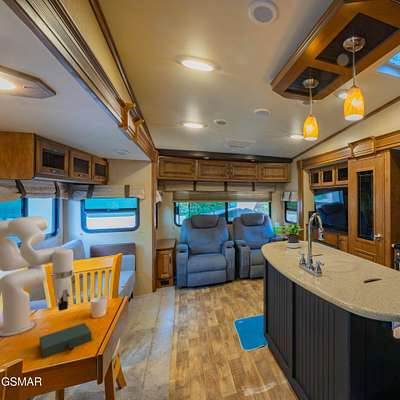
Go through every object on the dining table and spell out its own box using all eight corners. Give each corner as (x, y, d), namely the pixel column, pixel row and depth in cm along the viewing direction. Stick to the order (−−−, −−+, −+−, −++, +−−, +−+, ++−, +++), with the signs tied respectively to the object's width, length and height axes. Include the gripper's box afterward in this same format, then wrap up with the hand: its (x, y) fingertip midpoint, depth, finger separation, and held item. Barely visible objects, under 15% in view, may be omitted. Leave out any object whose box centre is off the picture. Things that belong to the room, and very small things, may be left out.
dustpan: (39, 337, 119) (45, 353, 108) (84, 322, 133) (94, 335, 122) (39, 346, 120) (45, 363, 108) (84, 330, 133) (94, 344, 122)
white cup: (97, 319, 145) (97, 302, 144) (87, 317, 146) (86, 301, 146) (110, 312, 152) (110, 297, 152) (100, 311, 154) (100, 295, 154)
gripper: (49, 272, 124) (50, 307, 125) (55, 280, 115) (55, 317, 116) (70, 268, 130) (70, 302, 131) (76, 275, 121) (76, 311, 122)
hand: (63, 309), depth 124 cm, fingers closed
